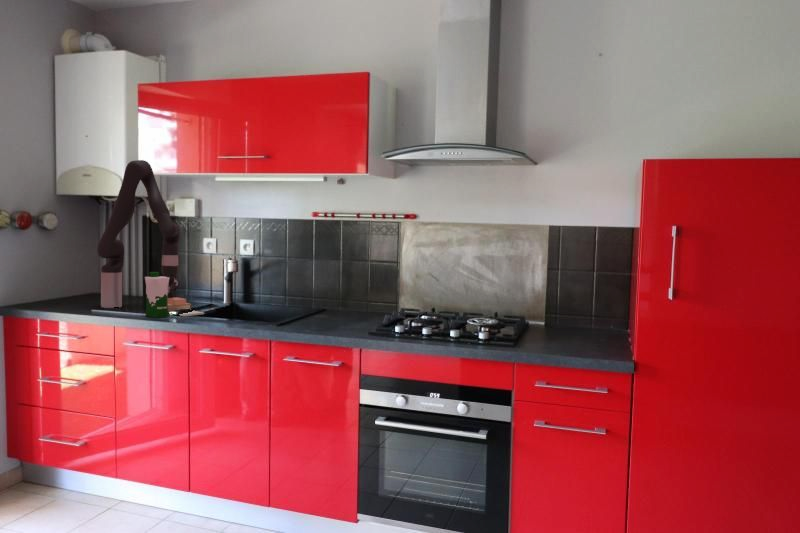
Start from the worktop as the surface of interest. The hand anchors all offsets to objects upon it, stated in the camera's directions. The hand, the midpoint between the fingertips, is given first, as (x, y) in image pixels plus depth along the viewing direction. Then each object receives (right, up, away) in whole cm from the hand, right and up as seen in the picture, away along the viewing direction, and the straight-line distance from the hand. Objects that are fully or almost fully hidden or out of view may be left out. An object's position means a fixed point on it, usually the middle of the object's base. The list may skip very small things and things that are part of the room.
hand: (169, 300), depth 318 cm
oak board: (+2, -5, -1) cm, 6 cm away
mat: (+11, -6, -8) cm, 15 cm away
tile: (+4, -2, -4) cm, 6 cm away
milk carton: (+1, -7, -18) cm, 19 cm away
